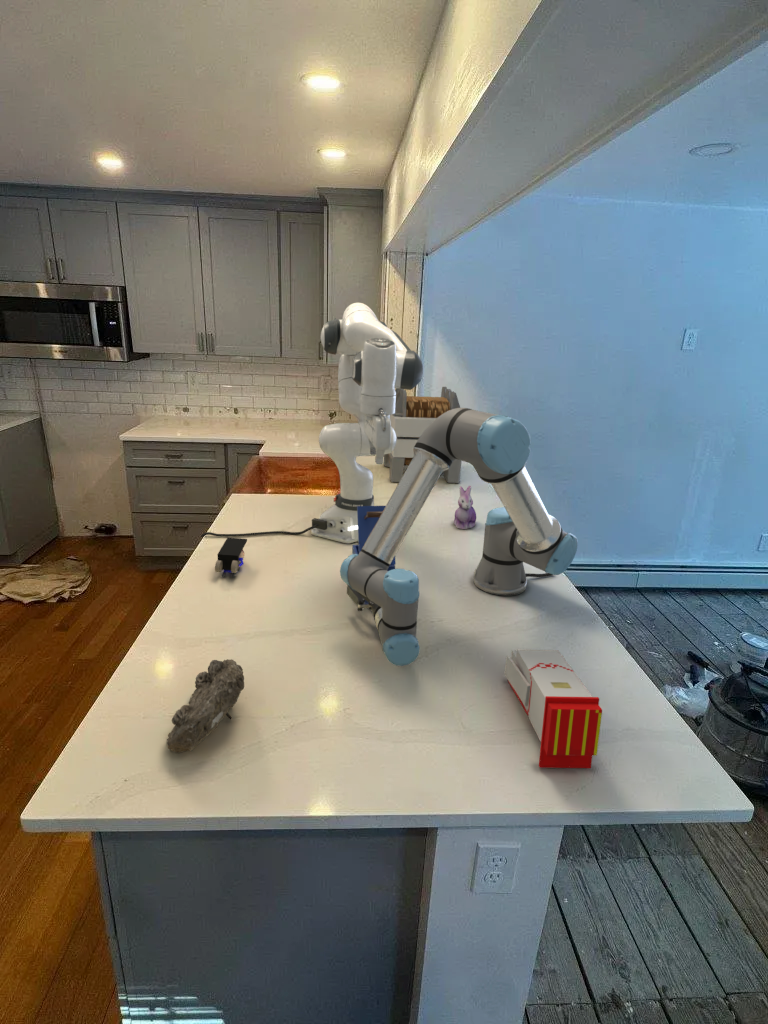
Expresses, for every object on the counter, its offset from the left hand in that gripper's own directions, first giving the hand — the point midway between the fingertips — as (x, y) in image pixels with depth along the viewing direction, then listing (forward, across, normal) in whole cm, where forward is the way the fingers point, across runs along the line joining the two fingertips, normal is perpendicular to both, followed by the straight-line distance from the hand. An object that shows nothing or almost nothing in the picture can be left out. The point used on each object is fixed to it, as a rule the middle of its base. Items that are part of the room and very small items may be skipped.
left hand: (375, 458), depth 148 cm
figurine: (+38, +46, -42) cm, 73 cm away
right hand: (+31, -5, 0) cm, 31 cm away
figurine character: (+38, +15, +39) cm, 56 cm away
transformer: (+38, +116, -42) cm, 129 cm away
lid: (+20, -4, 0) cm, 20 cm away
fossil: (+38, -49, +38) cm, 73 cm away
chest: (+38, -1, 0) cm, 38 cm away
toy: (+38, -57, -25) cm, 73 cm away
